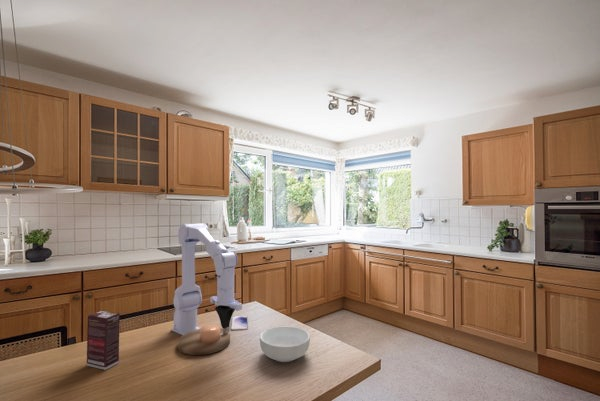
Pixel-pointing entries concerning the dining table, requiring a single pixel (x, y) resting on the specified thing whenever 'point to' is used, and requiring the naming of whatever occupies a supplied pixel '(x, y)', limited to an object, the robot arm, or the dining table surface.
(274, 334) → the cereal bowl
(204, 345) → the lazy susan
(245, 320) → the smartphone
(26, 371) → the dining table surface
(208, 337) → the peach knob
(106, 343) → the supplement box
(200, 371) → the dining table surface
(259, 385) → the dining table surface
